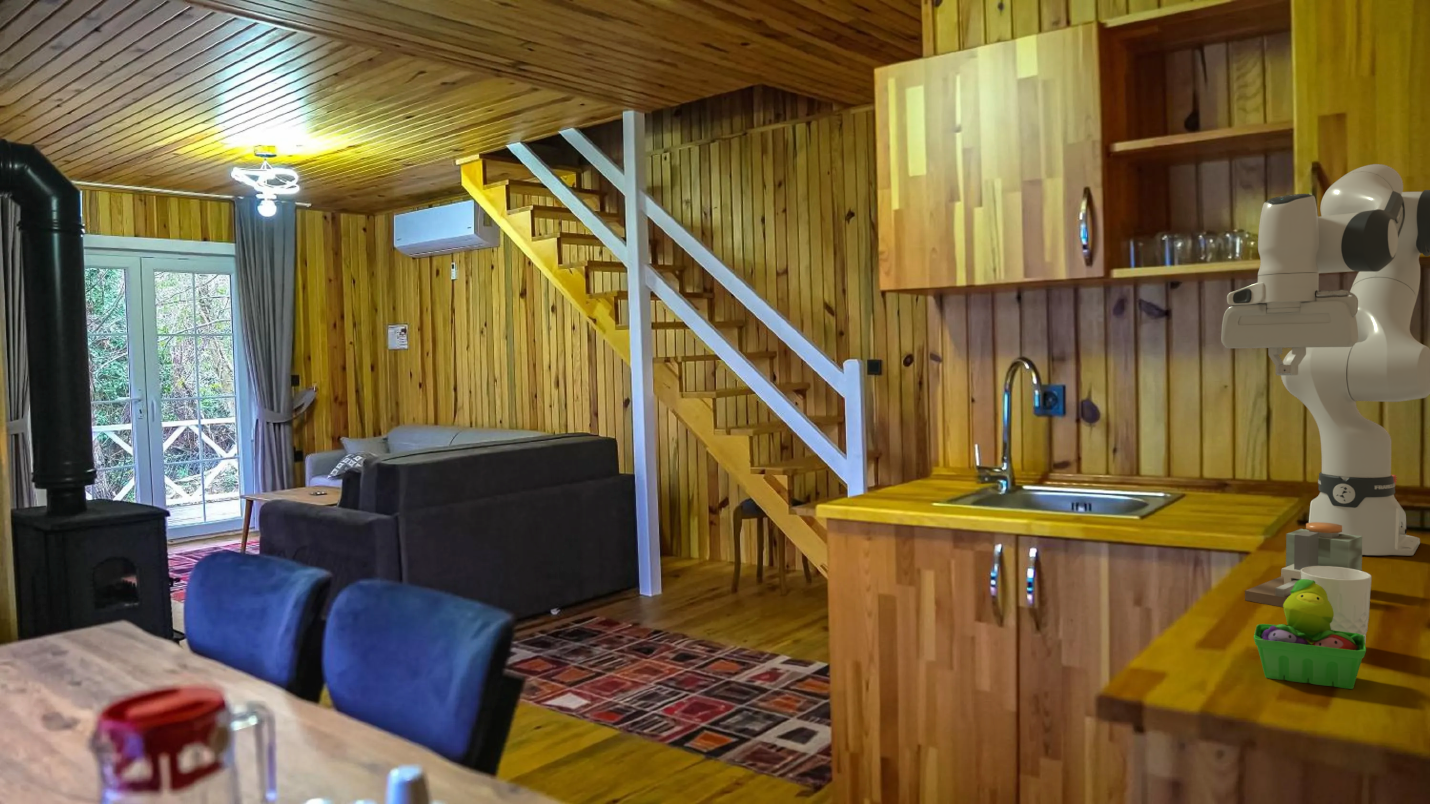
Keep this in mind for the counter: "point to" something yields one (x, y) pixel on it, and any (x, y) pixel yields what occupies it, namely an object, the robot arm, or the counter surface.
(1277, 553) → the counter surface
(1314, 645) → the fruit basket
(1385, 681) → the counter surface
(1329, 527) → the button
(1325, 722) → the counter surface
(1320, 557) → the rail bed
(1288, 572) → the carriage
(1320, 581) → the white cup
